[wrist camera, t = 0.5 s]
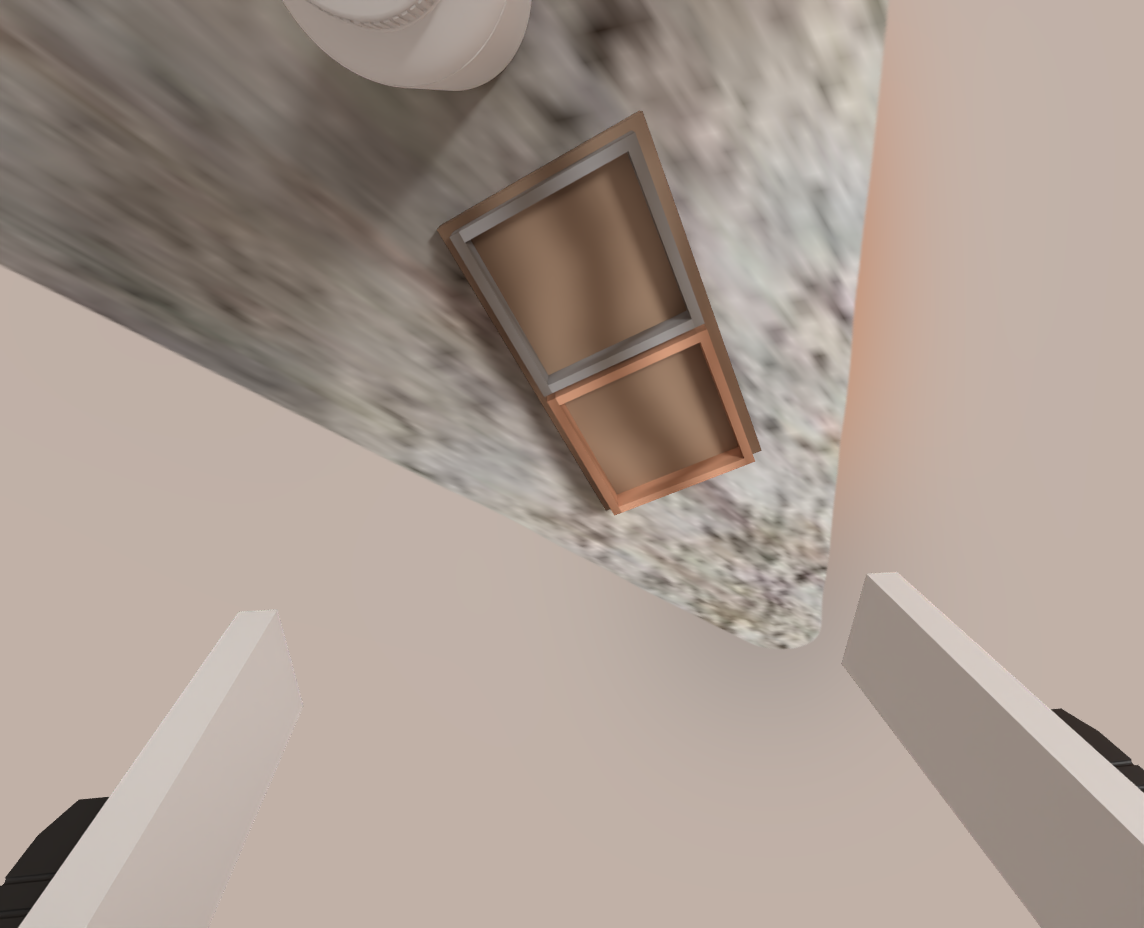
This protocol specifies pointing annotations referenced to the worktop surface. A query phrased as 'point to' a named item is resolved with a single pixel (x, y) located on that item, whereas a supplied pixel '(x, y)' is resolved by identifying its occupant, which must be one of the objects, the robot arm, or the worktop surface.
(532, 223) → the compartment tray
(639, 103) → the worktop surface
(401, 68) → the pill bottle
